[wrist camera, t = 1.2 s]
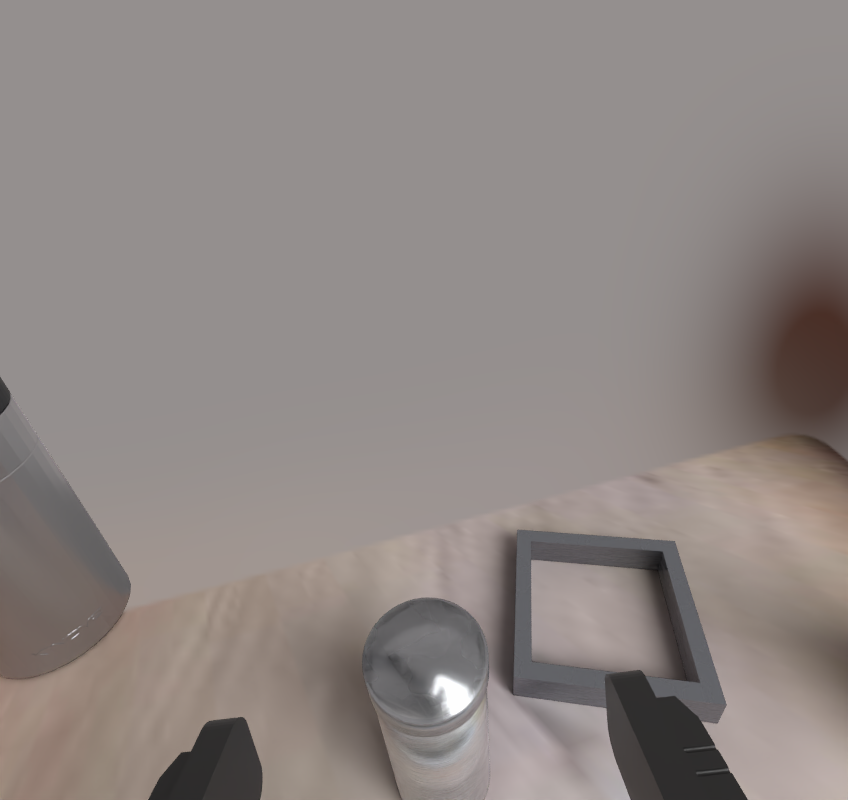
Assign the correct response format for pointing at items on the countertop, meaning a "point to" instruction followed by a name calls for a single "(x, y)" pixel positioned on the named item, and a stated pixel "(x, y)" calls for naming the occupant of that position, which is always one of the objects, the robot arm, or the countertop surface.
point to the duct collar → (590, 684)
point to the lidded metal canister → (431, 698)
